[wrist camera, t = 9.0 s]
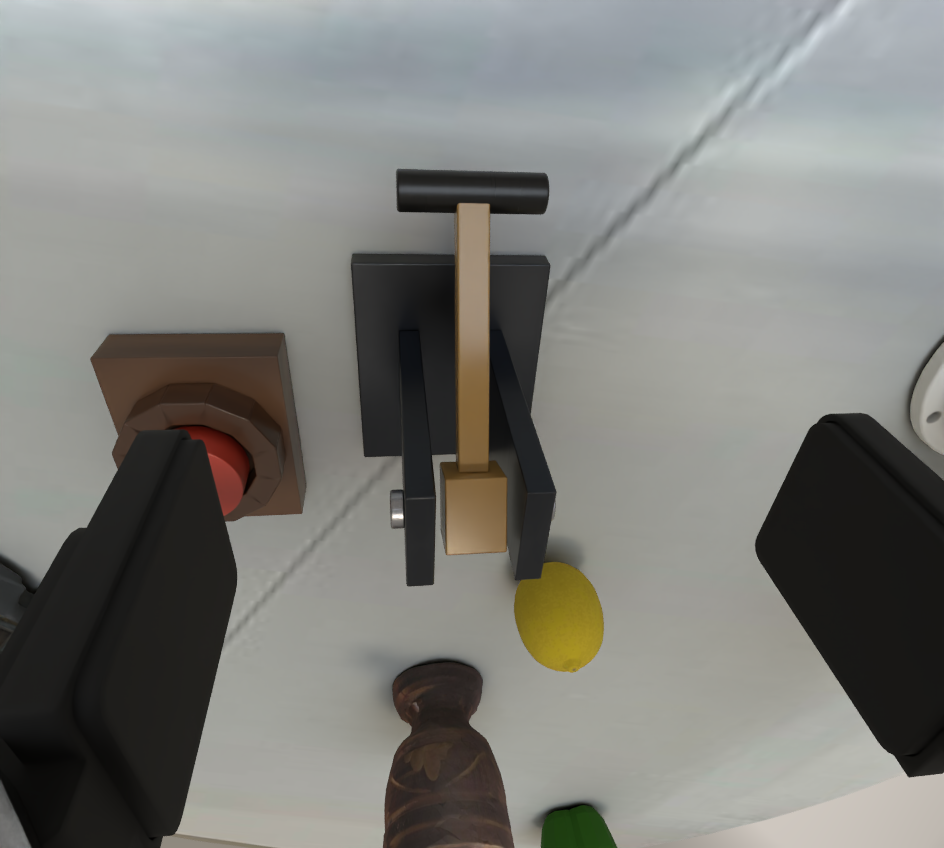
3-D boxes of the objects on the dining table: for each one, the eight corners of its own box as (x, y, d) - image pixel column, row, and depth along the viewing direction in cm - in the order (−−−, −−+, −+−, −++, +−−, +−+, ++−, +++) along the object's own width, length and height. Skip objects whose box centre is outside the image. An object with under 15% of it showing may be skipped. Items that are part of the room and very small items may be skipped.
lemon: (563, 594, 44) (594, 699, 38) (493, 584, 42) (513, 692, 36) (597, 543, 41) (636, 647, 35) (523, 531, 39) (550, 637, 33)
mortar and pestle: (330, 693, 48) (302, 1048, 32) (379, 632, 44) (376, 1003, 28) (453, 718, 52) (483, 1041, 36) (508, 665, 49) (569, 1000, 33)
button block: (108, 334, 28) (73, 378, 25) (284, 332, 29) (271, 375, 26) (161, 492, 34) (138, 544, 31) (306, 486, 35) (298, 536, 32)
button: (140, 426, 27) (127, 450, 26) (241, 424, 28) (234, 447, 26) (164, 498, 30) (153, 523, 28) (256, 494, 30) (250, 519, 29)
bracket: (352, 253, 27) (332, 415, 17) (545, 255, 28) (636, 408, 18) (364, 444, 34) (356, 645, 23) (521, 439, 35) (579, 629, 25)
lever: (395, 176, 21) (396, 160, 18) (536, 180, 21) (554, 165, 19) (404, 532, 23) (406, 557, 21) (530, 526, 24) (545, 550, 22)
